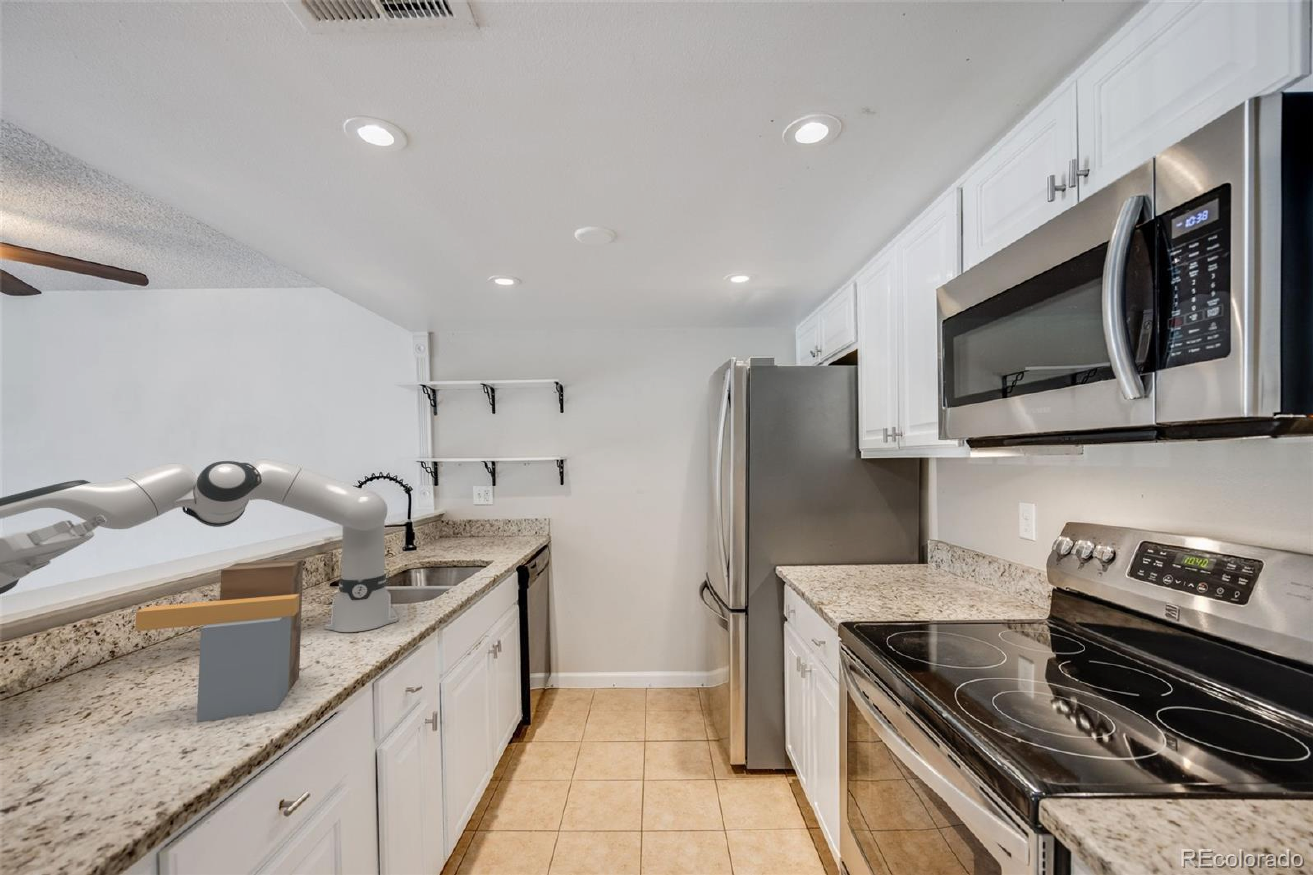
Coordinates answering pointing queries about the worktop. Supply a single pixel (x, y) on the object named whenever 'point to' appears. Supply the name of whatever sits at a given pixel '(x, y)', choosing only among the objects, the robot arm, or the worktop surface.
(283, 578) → the walnut stand
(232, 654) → the slate block
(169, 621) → the orange block
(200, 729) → the worktop surface
